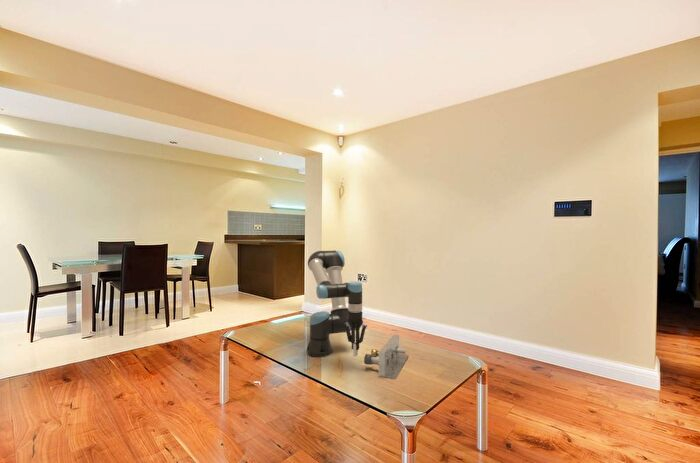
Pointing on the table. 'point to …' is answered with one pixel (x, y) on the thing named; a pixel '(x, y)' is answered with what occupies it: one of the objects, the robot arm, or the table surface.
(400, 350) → the knob far
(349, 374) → the table surface
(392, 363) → the panel
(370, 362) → the knob near
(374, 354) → the silver and brass cylinder
